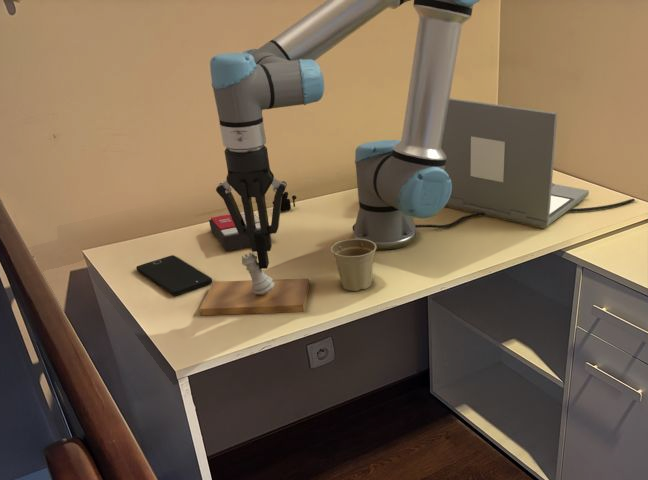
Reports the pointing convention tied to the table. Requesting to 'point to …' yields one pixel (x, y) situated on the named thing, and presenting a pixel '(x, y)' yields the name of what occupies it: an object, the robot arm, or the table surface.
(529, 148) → the laptop
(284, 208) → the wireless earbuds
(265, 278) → the rook chess piece
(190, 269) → the cell phone
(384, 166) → the robot arm
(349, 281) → the flower pot
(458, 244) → the table surface
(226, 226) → the calculator
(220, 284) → the board
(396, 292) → the table surface
